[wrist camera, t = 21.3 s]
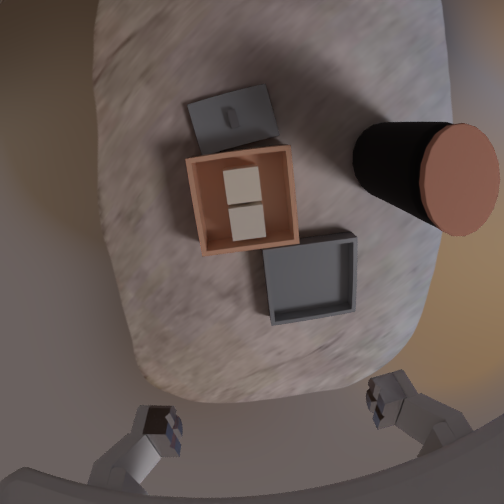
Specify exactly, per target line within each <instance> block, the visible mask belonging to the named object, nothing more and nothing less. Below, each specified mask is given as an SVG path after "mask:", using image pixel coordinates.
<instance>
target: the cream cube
mask: <svg viewBox="0 0 504 504" xmlns="http://www.w3.org/2000/svg"><path fill="white" fill-rule="evenodd" d="M223 176H224V183H225V190H226V197H227V204H228V205H231V204H238V203H246V202H253V201H261V200H262V196H261V187H260V179H259V171H258V166H257V165H256V164H248V165H241V166H233V167H226V168H224V169H223Z"/></svg>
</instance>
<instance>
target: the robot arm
mask: <svg viewBox="0 0 504 504" xmlns="http://www.w3.org/2000/svg"><path fill="white" fill-rule="evenodd" d="M368 386H369V389H368V390H367V393H366V403H367V406H368V409H369V411H370V412H372V413H374V415H373V421H374V423H375V425H376V428H377V429H382V428H385V427H389V426H392V425H396V426H397V427H398V428H400V429H401V430H403V431H404V432H405V433H407V434H408V435H409V436H411V437H412V438H414V439H415V440H417V441H418V442H420V443H421V444H423V447H422V449H421V450H420V452H419V454H418V456H417V457H418V458H415V459H413V460H410V461H408V462H405V463H402V464H399V465H397V466H394V467H391V468H388V469H385V470H382V471H379V472H376V473H372V474H369V475H365V476H362V477H359V478H355V479H351V480H347V481H343V482H339V483H335V484H330V485H325V486H321V487H315V488H310V489H305V490H299V491H292V492H285V493H278V494H269V495H259V496H247V497H231V498H230V497H229V498H186V497H168V496H156V495H148V492H147V491H146V490H145V489H144V488H143V487H142V486H141V485H140V483H141V482H142V481H143V479H144V478H145V477H146V476H147V475H148V473H149V472H150V471H151V470H152V469H153V467H154V466H155V465H156V464H157V462H158V461H159V460H160V459H161V457H180V450H181V444H180V442H179V439H180V438H181V437H182V433H183V427H182V422H181V419H180V417H179V416H177V415H176V409H175V407H174V406H157V405H154V406H153V405H140V406H139V407H138V409H137V412H136V416H135V419H134V423H133V427H132V430H131V434H127V435H125V436H124V437H123V438H122V439H121V440H120V441H119V442H117V443H116V444H115V445H114V446H113V447H112V448H111V449H109V450H108V451H107V452H106V453H105V454H104V455H102V456H101V457H100V458H99V459H98V460H97V461H95V462H94V464H93V468H92V471H91V474H90V477H89V481H88V484H87V485H86V484H82V483H78V482H74V481H71V480H66V479H63V478H60V477H56V476H53V475H50V474H47V473H43V472H40V471H37V470H35V469H32V468H29V467H23V468H20V469H18V470H17V471H15V472H13V473H12V474H10V475H8V476H7V477H5V478H4V479H3V480H2V481H1V482H0V504H504V414H502V415H500V416H499V417H497V418H496V419H494V420H492V421H491V422H489V423H487V424H485V425H484V426H482V427H480V428H479V429H477V430H475V431H473V430H472V428H471V426H470V425H469V423H468V422H467V420H466V419H465V417H464V415H463V414H462V412H460V411H458V410H456V409H453V408H451V407H449V406H447V405H445V404H442V403H441V402H438V401H436V400H434V399H432V398H430V397H428V396H426V395H424V394H422V393H420V394H418V393H417V391H416V389H415V388H414V386H413V385H412V383H411V381H410V380H409V378H408V377H407V375H406V374H405V372H404V371H403V370H402V369H401V370H398V371H395V372H392V373H387V374H384V375H380V376H377V377H373V378H370V379H369V382H368Z"/></svg>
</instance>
